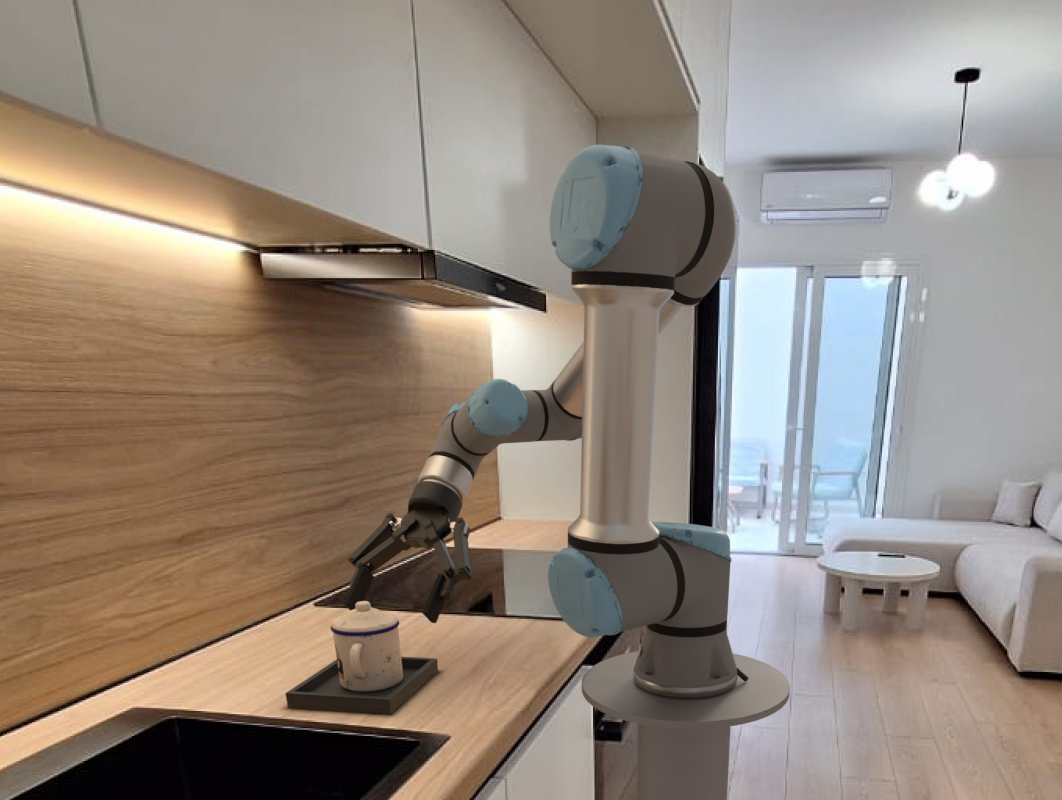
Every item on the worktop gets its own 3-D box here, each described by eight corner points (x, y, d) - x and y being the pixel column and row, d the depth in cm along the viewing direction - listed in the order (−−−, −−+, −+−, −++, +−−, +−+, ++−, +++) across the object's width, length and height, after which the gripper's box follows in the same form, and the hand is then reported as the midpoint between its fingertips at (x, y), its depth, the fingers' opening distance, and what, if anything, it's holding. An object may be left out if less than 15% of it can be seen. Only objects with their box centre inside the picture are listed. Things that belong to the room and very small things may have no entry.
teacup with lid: (348, 671, 119) (338, 594, 115) (410, 670, 120) (402, 593, 115) (324, 702, 108) (311, 618, 104) (393, 700, 108) (383, 617, 104)
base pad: (438, 671, 121) (437, 658, 120) (391, 714, 106) (389, 699, 105) (346, 666, 123) (345, 653, 122) (287, 707, 108) (285, 693, 107)
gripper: (521, 513, 123) (475, 635, 115) (385, 505, 131) (334, 618, 124) (501, 481, 116) (451, 608, 108) (360, 475, 125) (304, 592, 117)
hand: (389, 613), depth 116 cm, fingers open, 13 cm apart
